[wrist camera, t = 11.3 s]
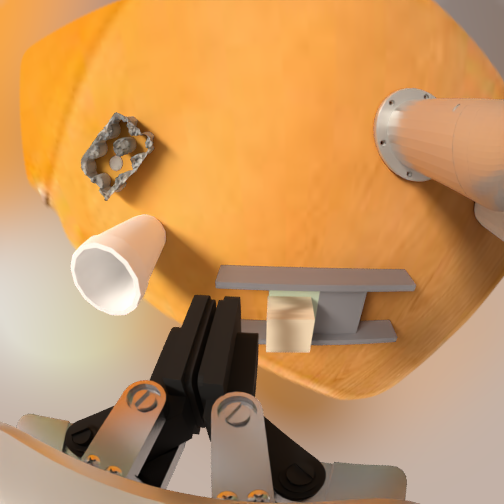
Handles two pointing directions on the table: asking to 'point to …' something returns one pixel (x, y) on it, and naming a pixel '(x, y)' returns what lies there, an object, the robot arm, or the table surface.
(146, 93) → the table surface
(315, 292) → the pad
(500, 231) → the paper towel roll
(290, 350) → the maple block
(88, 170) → the egg carton
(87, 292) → the foam cup
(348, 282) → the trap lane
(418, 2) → the table surface
